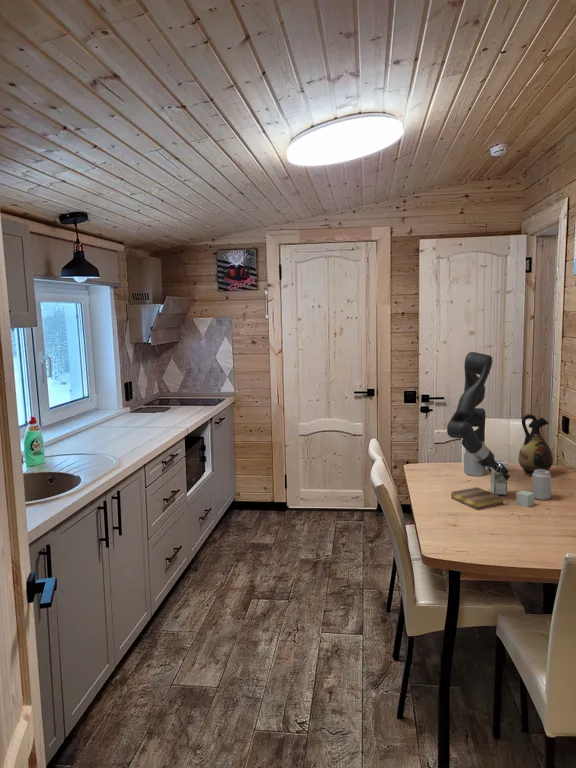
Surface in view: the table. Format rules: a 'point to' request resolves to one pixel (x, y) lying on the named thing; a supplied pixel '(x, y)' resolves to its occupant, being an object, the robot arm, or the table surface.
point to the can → (541, 484)
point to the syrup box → (499, 480)
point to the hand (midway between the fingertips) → (501, 475)
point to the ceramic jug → (534, 447)
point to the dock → (477, 498)
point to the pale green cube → (525, 498)
